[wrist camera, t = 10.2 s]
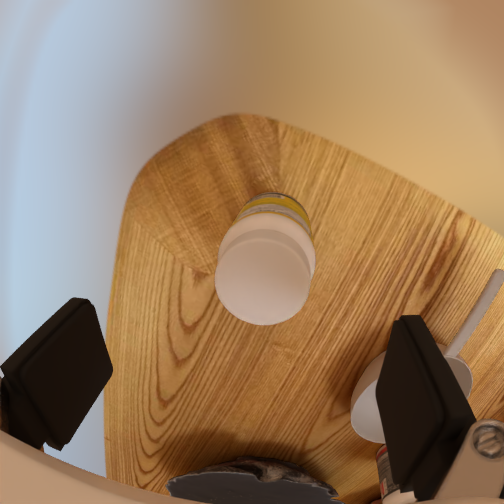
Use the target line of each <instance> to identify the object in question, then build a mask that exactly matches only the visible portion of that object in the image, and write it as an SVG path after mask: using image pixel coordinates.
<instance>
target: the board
mask: <svg viewBox="0 0 504 504" xmlns="http://www.w3.org/2000/svg"><path fill="white" fill-rule="evenodd" d="M165 486H166V489H167V490H168V491H169V492H170V496H172V497H176V498H181V499H186V500H191V501H197V502H202V503H209V504H345V503H344V502H341V501H340V500H336V499H331V498H332V497H338V496H339V495H338V493H337V492H336V490H335V489H333V487H332V486H331V485H329V484H327V483H325V482H323V481H320V480H318V479H316V478H313V477H311V476H310V475H309V472H308V471H307V470H306V469H305V468H303V467H302V466H300V467H299V466H297V465H296V464H294V463H290V462H283V461H280V460H276V459H265V458H259V457H253V456H252V457H251V456H243V457H239V458H237V459H236V461H228V462H225V463H221V464H218V465H214V466H209V467H204V468H203V469H200V470H197V471H189V472H188V473H187V474H185V475H180V476H176V477H173V478H171V479H170V480H168V484H167V485H165Z"/></svg>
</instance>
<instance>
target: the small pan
mask: <svg viewBox="0 0 504 504" xmlns="http://www.w3.org/2000/svg"><path fill="white" fill-rule="evenodd" d="M503 282H504V271H503V270H501V269H495V271H494V272H493V273H492V275H491V277H490V278H489V280H488V282H487V284H486V286H485V288H484V289H483V291H482V293H481V295H480V296H479V298H478V300H477V301H476V303H475V305H474V306H473V308H472V310H471V311H470V313H469V315H468V316H467V318H466V319H465V321H464V323H463V324H462V326H461V327H460V329H459V330H458V332H457V333H456V335H455V336H454V338H453V339H452V341H451V342H450V344H449V345H448V346H444V345H442V344H439V343H436V344H437V345H438V347H439V349H440V351H441V353H442V354H443V356H444V358H445V359H446V360H447V362H448V364H449V366H450V367H451V369H452V371H453V373H454V375H455V377H456V379H457V381H458V383H459V385H460V387H461V389H462V391H463V393H464V395H465V397H466V399H468V397H469V395H470V392H471V389H472V384H473V377H472V373H471V370H470V368H469V367H468V365H467V364H466V362H465V361H464V360H463V358H462V357H461V356H460V355H459V354H458V353H459V352H460V350H461V349H462V348H463V346H464V345H465V343H466V342H467V340H468V339H469V338H470V336H471V335H472V333H473V332H474V330H475V329H476V327H477V326H478V324H479V322H480V321H481V319H482V318H483V316H484V315H485V313H486V311H487V310H488V308H489V306H490V305H491V303H492V301H493V300H494V298H495V296H496V295H497V293H498V291H499V289H500V287H501V286H502V284H503ZM385 354H386V351H384V352H383V353H381V354H380V355H379V356H377V357H376V358H375V359H374V360H373V361H372V362H371V363H370V364H369V365H368V367H367V368H366V369H365V371H364V373H363V375H362V376H361V377H360V379H359V381H358V383H357V385H356V387H355V389H354V391H353V394H352V398H351V411H350V413H351V423H352V427H353V429H354V430H355V432H356V433H357V434H358V435H359V436H361V437H362V438H364V439H366V440H369V441H372V442H376V443H382V444H386V442H385V438H384V433H383V428H382V423H381V419H380V414H379V410H378V406H377V401H376V397H375V389H376V384H377V381H378V378H379V375H380V371H381V368H382V364H383V361H384V357H385Z"/></svg>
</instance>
